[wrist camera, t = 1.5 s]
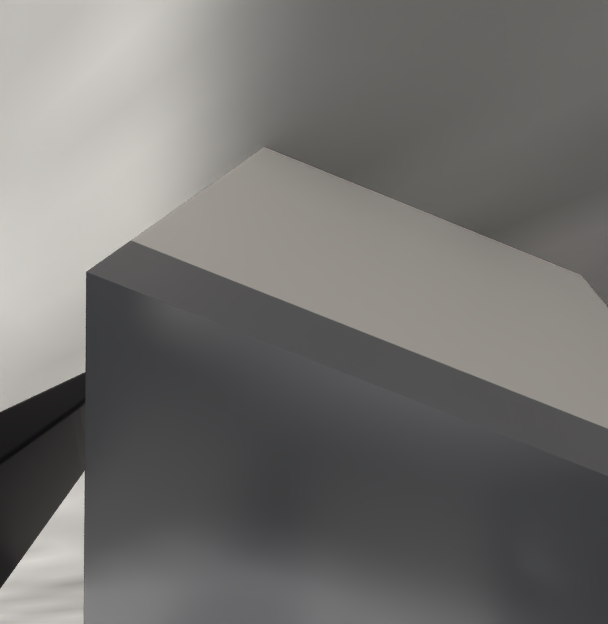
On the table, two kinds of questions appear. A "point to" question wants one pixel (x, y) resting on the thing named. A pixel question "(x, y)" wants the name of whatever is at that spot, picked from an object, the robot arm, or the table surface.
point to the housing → (340, 417)
